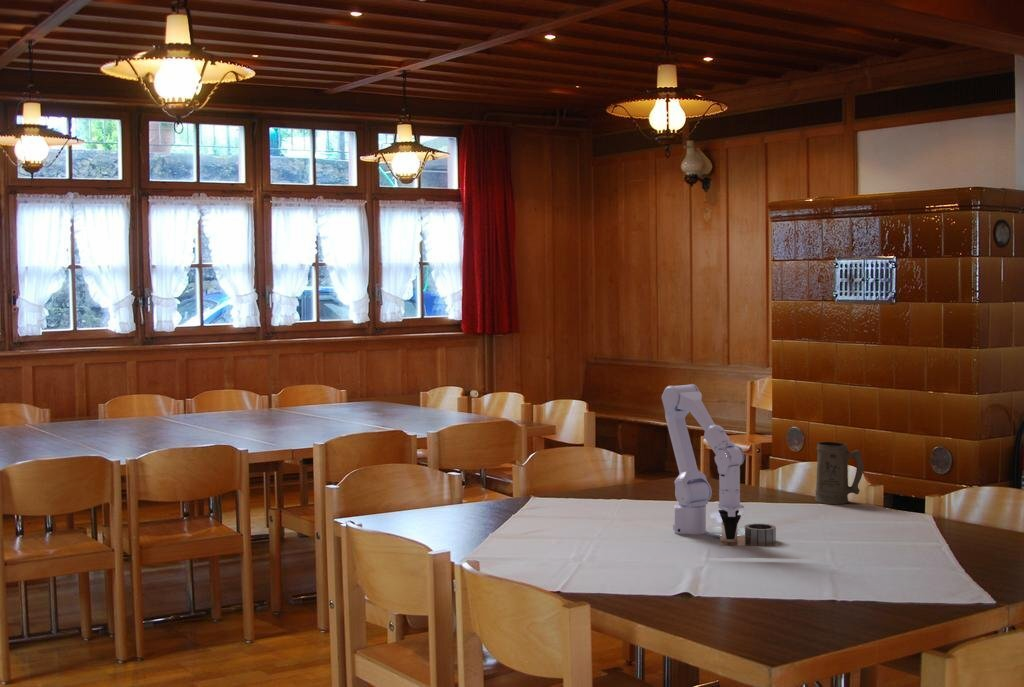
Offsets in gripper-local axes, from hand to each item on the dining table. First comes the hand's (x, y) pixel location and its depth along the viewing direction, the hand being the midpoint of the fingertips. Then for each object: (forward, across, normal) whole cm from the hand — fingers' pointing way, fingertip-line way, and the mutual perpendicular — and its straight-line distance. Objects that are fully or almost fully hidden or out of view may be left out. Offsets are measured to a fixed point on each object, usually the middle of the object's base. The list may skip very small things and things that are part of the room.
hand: (729, 537), depth 328 cm
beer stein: (+2, +65, -42) cm, 77 cm away
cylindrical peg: (+1, 0, 0) cm, 1 cm away
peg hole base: (+2, 0, -5) cm, 5 cm away
